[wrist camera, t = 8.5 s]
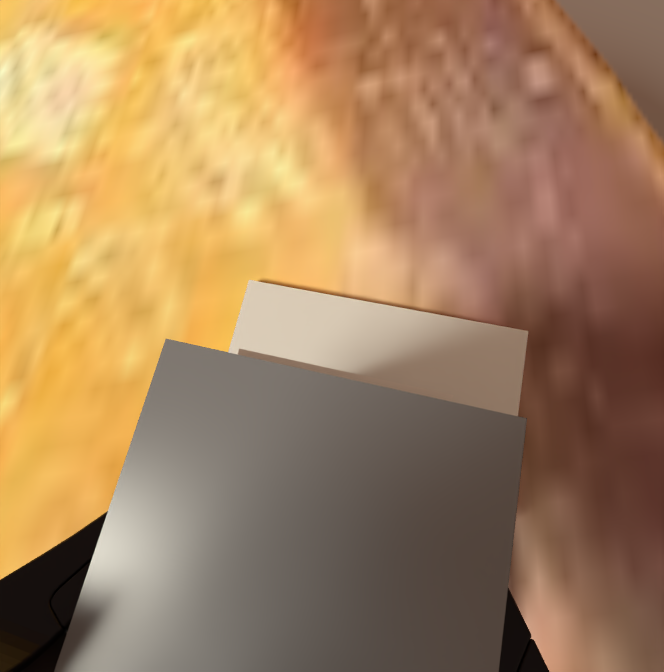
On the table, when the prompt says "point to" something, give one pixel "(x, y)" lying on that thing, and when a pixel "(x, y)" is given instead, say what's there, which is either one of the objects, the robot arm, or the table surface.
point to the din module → (301, 526)
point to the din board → (386, 343)
